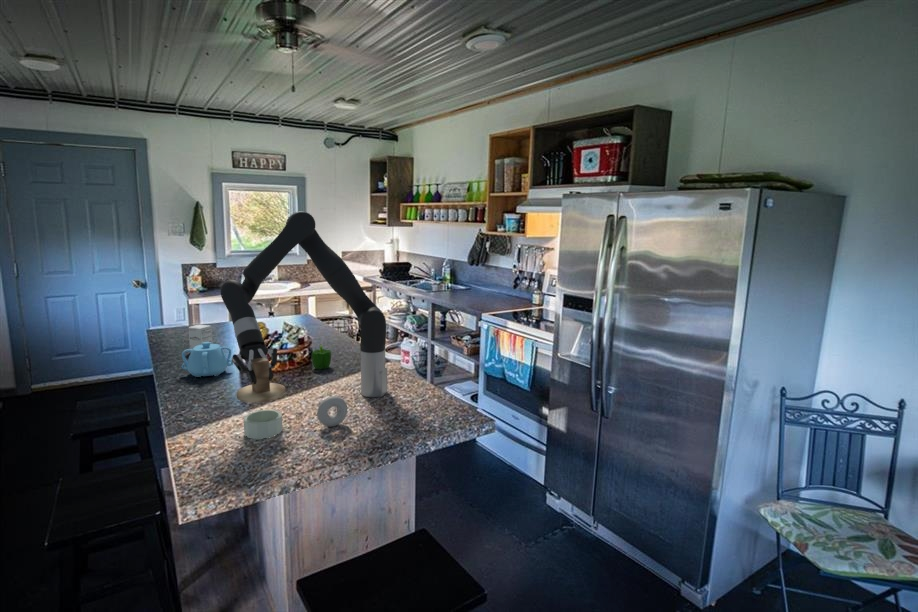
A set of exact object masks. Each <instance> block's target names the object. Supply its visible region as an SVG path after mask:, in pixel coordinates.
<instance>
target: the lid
mask: <svg viewBox="0 0 918 612" xmlns="http://www.w3.org/2000/svg"><path fill="white" fill-rule="evenodd" d="M267 359H268V358H267ZM267 359H266V358H257V359H252V360H251V362H252V367H253V369H252V370H253V371H254V373H255V377H256V380H257V382H256V384H253V383H251V384H249V385H246V386H243V387H241V388H239V389H238V390H237V391H236V399H237V400H238V401H240V402H244V403H249V404H250V403H254V404H256V403H257V404H258V403H266V402H271V401H275V400H277V399H280V398H282V397H283V396H284V395H285V394H286V386H284V385H283V384H280V383H276V382H271V381H269V363H270V362H269V361H270V360H269V359H268V360H267Z"/></svg>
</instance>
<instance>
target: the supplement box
mask: <svg viewBox="0 0 918 612" xmlns="http://www.w3.org/2000/svg"><path fill="white" fill-rule="evenodd" d="M212 327H213V326H212V325H209V324H207V325H206V324H200V323H199V324H196V325H191V326H189V327H188V340H189V349H193V348H194V347H195V346H197V345H202V343H203V342H211V343H210V344H214V342H213V328H212Z"/></svg>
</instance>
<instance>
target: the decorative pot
mask: <svg viewBox="0 0 918 612" xmlns="http://www.w3.org/2000/svg"><path fill="white" fill-rule="evenodd" d="M210 343H211V342H203V343H202V345H197V346H195V347H194V348H193V349H190V348H187V349H185V350H183V351H182V352H181V358H182V360H183V363H182V364H181V368H182V370H187V371H188V373H190V375H192V376H193V377H195V378H196V377H200V378H202V377H201V376H203V377H209V376H213V375H219V376H220V374H222V373H224V372H225V370H226V369H227V367H231V366H233V365H234V363H233V362H232V359H231V357H232V349H231V348H230V347H229V346H224V345H223V346H221V345H220V344H218V343H213V344H210ZM224 350H228V354H227V355H228V356H226V354H225V351H224ZM188 352H189V353H190V352H191V353H190V354H189V356H188V360H187V358H186V356H185V355H186V353H188ZM229 362H230V363H229Z"/></svg>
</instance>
